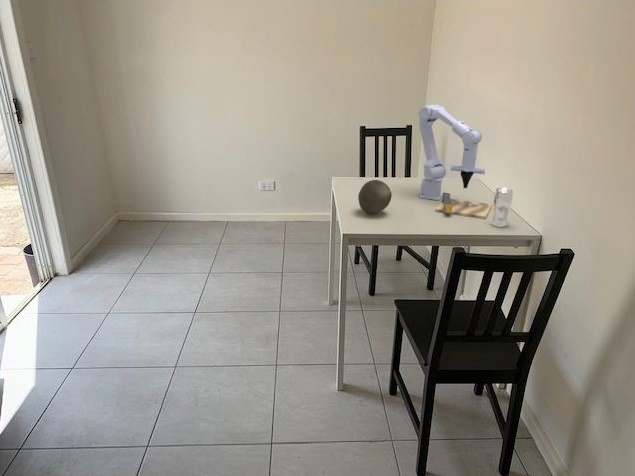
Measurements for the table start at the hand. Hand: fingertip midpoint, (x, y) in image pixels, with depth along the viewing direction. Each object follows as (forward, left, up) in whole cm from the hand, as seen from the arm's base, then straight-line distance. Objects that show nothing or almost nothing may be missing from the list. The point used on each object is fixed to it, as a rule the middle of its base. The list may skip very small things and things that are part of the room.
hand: (465, 187), depth 214 cm
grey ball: (-34, -26, -10) cm, 44 cm away
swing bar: (-6, -7, -7) cm, 12 cm away
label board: (+1, -3, -9) cm, 10 cm away
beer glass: (+18, -16, -10) cm, 26 cm away
